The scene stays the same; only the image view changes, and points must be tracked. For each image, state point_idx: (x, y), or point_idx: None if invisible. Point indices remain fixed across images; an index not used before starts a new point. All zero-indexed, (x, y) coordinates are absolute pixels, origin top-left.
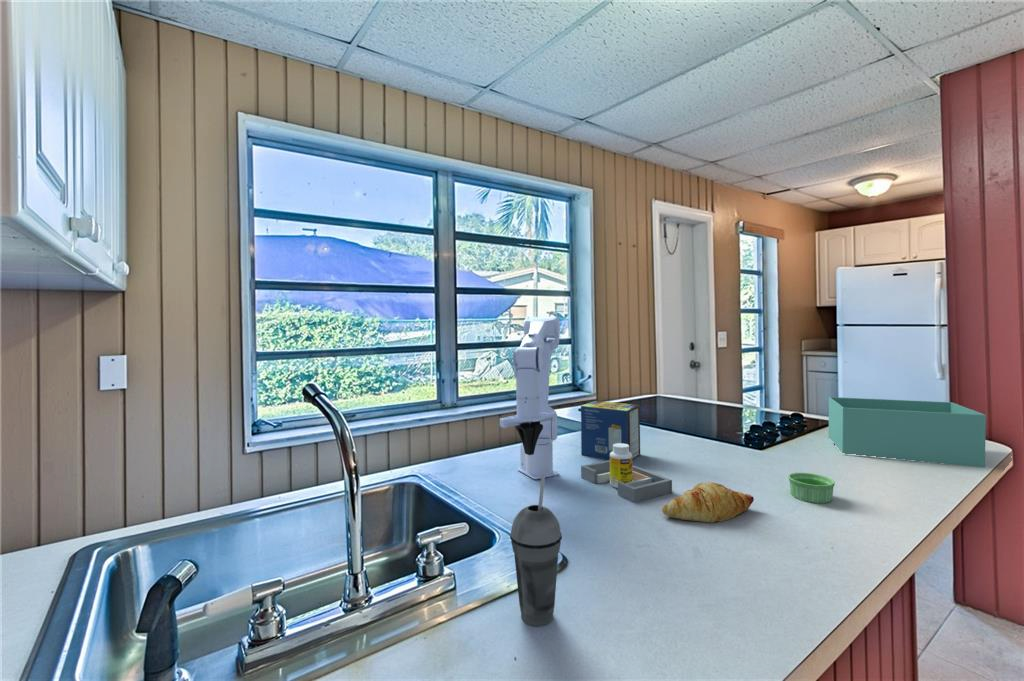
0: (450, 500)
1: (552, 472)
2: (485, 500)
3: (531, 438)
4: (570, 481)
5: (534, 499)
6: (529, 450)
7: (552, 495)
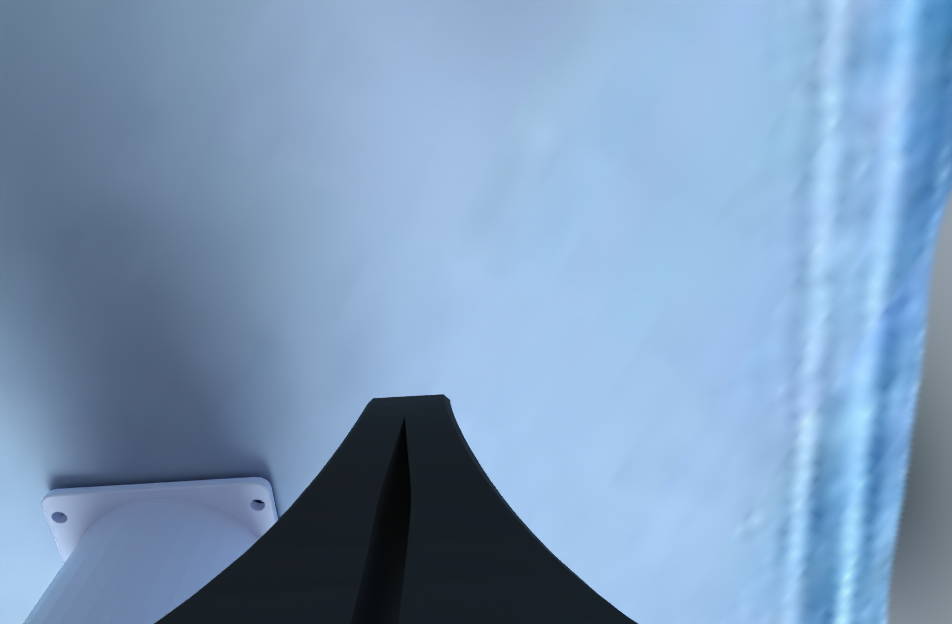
0: (909, 397)
1: (92, 523)
2: (739, 305)
3: (422, 541)
4: (7, 354)
5: (433, 160)
6: (451, 417)
7: (265, 165)
